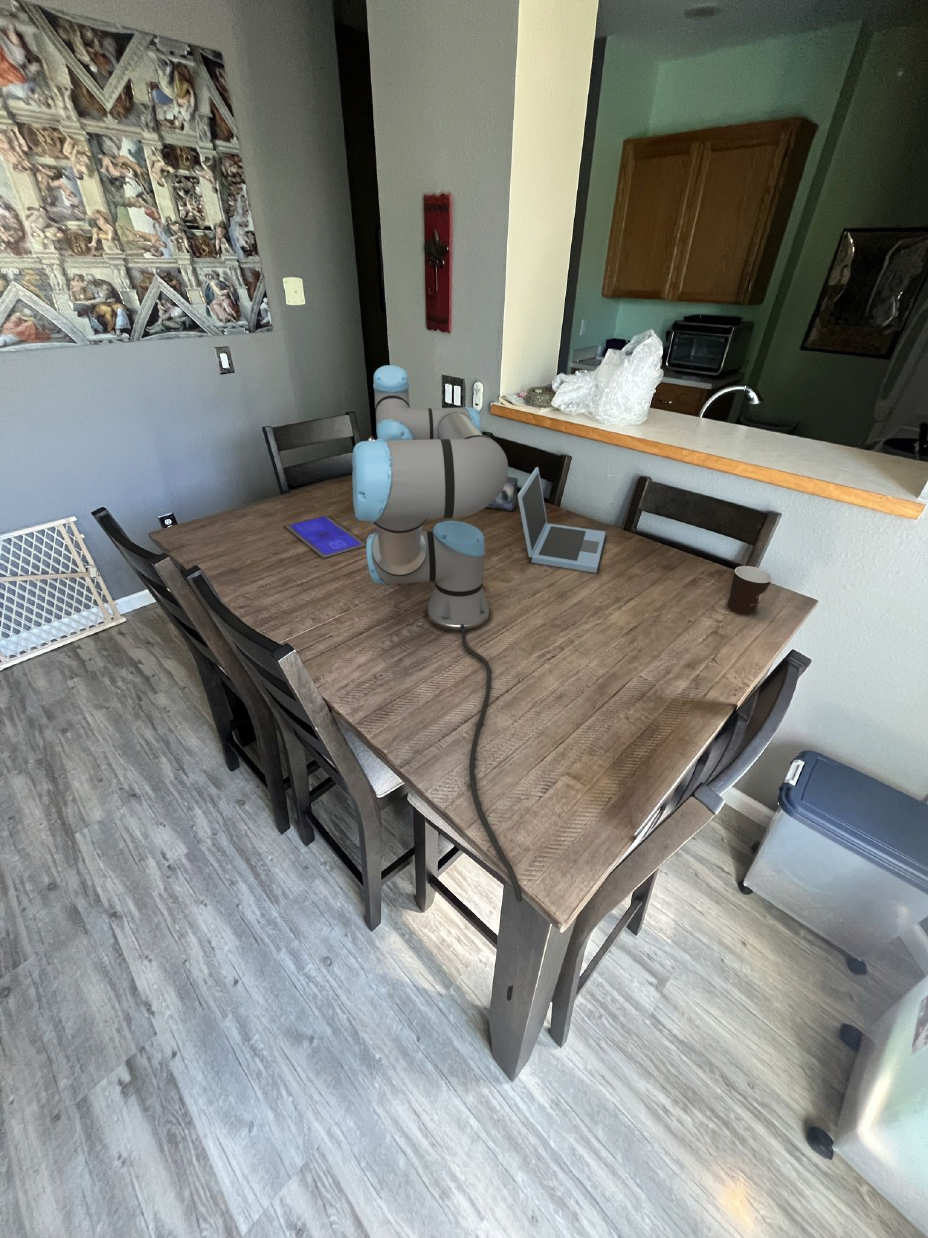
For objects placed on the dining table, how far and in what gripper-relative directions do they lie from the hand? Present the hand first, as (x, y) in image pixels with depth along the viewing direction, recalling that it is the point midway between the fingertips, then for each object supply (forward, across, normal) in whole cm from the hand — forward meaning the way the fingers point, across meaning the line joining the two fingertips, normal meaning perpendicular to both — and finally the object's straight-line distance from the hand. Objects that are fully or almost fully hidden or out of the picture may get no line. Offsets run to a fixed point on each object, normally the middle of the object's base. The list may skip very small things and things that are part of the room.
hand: (396, 491), depth 144 cm
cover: (+12, -38, -17) cm, 44 cm away
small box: (+36, -26, -36) cm, 57 cm away
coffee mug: (+1, -98, +6) cm, 98 cm away
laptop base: (+19, -52, -12) cm, 57 cm away
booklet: (+27, +24, +2) cm, 36 cm away
